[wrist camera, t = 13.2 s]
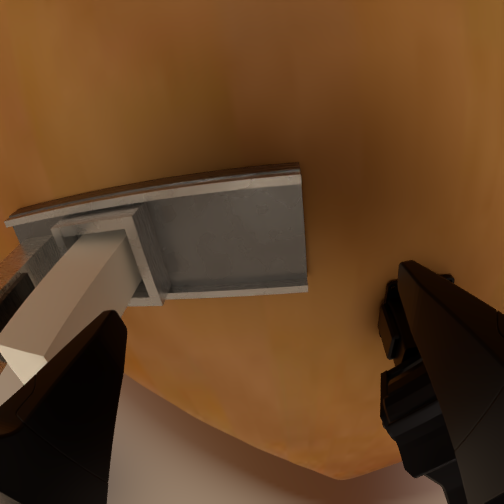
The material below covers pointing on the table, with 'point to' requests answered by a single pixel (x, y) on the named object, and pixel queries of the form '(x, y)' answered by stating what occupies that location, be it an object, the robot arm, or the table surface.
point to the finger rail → (174, 236)
